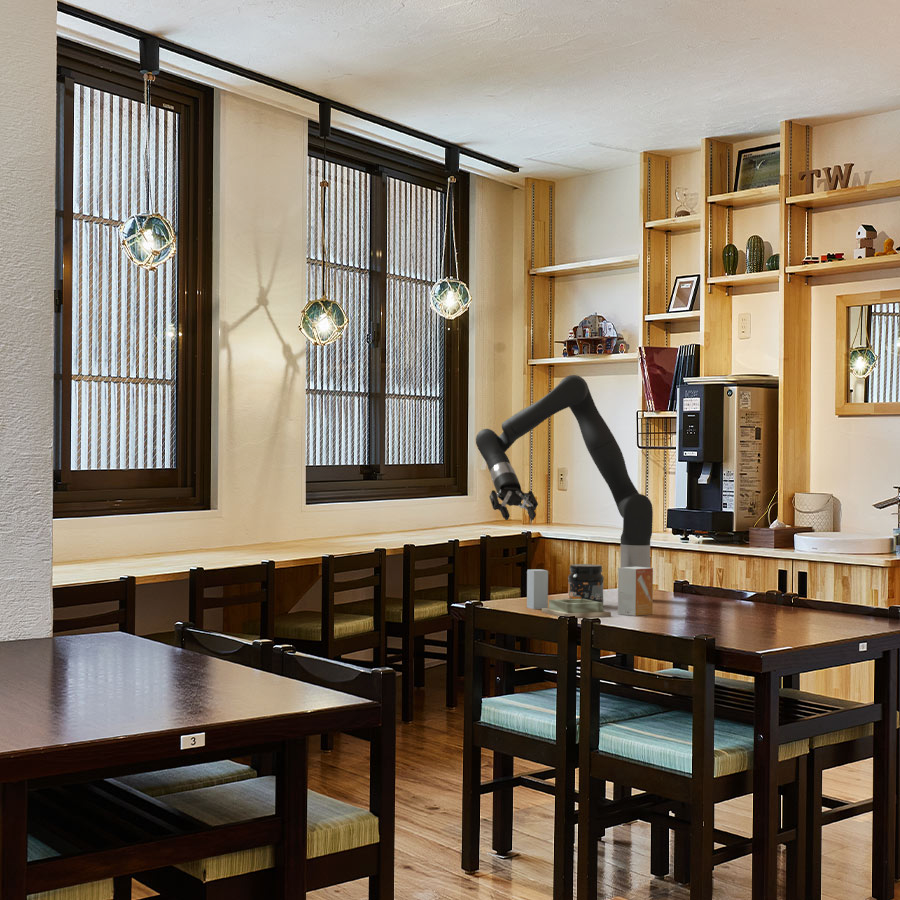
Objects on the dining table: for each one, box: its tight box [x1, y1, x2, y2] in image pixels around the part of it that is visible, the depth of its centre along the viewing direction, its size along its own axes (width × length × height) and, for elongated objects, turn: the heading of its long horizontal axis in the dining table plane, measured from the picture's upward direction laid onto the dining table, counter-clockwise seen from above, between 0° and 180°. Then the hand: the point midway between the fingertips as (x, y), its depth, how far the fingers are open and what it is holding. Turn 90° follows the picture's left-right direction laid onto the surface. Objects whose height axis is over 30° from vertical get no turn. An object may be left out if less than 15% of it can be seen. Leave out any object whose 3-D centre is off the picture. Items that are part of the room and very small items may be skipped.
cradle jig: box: [541, 598, 612, 618], centre depth 303 cm, size 14×14×4 cm
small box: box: [617, 567, 654, 617], centre depth 304 cm, size 8×6×13 cm
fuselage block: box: [526, 568, 549, 610], centre depth 316 cm, size 4×4×11 cm
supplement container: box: [567, 563, 605, 604], centre depth 324 cm, size 10×10×12 cm
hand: (520, 518), depth 328 cm, fingers open, 8 cm apart
